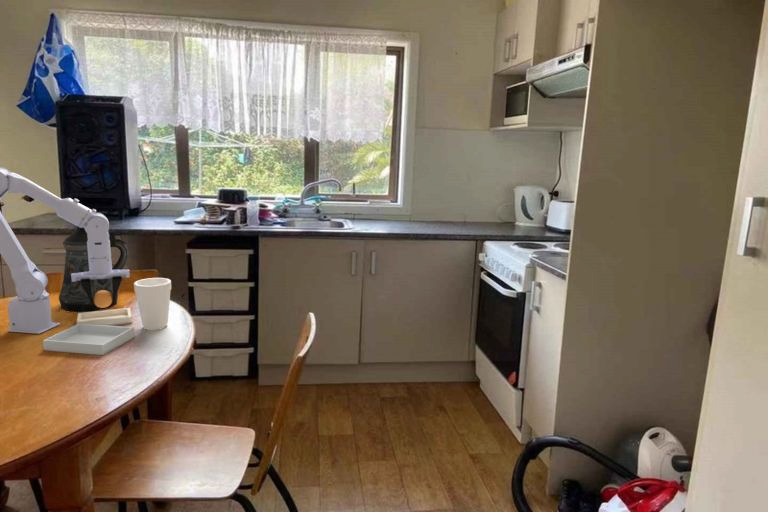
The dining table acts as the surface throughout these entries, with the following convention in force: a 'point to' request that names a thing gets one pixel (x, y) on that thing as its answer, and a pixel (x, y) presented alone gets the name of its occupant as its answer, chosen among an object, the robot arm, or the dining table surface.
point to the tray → (89, 339)
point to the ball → (102, 299)
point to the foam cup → (153, 301)
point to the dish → (106, 317)
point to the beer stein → (76, 262)
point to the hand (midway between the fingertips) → (103, 303)
